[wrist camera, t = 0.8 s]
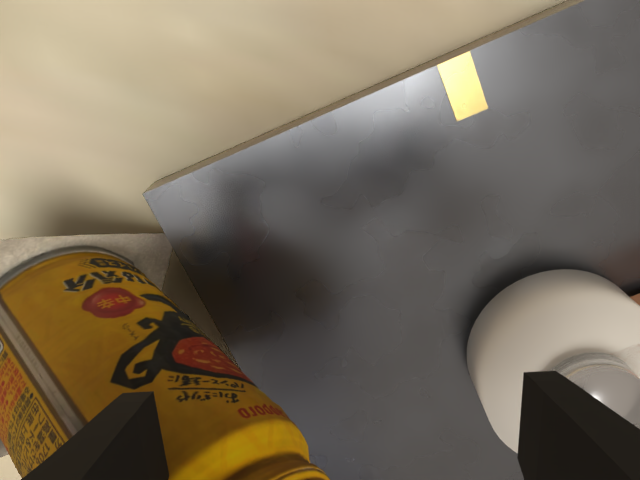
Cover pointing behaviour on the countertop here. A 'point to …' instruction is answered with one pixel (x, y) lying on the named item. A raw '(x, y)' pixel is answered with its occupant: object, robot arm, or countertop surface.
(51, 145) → the countertop surface
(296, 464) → the condiment
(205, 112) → the countertop surface
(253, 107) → the countertop surface
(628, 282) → the base
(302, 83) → the countertop surface
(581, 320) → the collar
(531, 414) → the robot arm
